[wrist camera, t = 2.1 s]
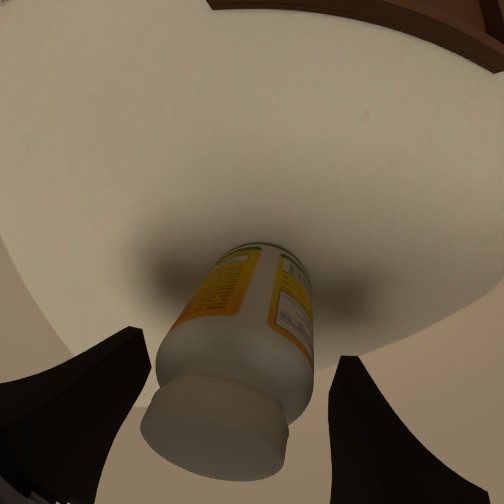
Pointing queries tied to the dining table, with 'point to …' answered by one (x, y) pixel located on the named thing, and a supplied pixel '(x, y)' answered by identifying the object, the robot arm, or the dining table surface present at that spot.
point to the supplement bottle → (235, 368)
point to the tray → (416, 21)
